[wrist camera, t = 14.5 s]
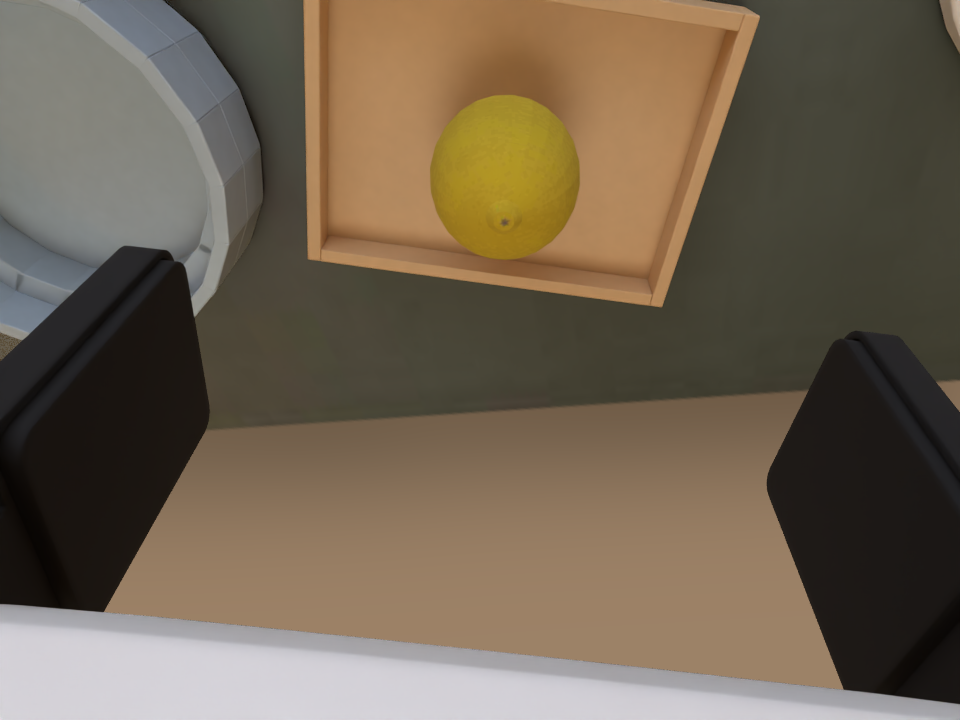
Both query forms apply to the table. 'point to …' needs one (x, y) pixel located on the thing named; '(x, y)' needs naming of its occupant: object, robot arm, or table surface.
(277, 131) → the table surface
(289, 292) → the table surface
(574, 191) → the lemon
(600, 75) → the tray
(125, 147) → the bowl
